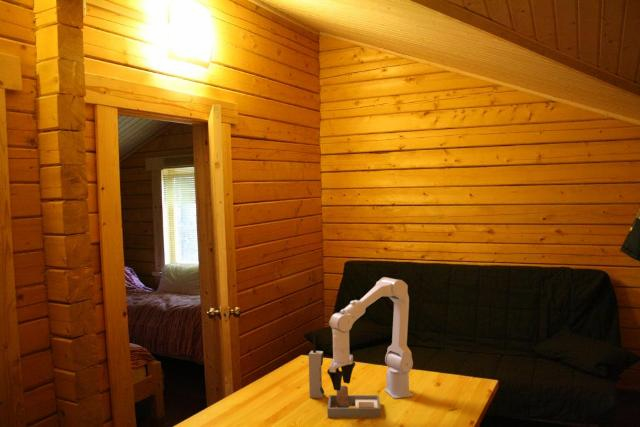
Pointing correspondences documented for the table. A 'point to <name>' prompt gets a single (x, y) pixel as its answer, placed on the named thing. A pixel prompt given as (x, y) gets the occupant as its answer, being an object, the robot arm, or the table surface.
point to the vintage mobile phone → (315, 372)
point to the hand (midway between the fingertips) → (341, 386)
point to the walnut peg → (342, 397)
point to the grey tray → (356, 406)
